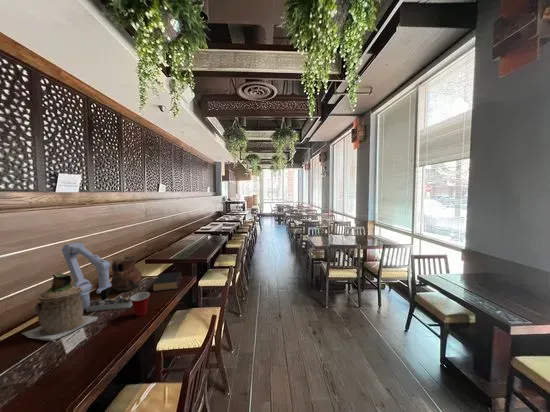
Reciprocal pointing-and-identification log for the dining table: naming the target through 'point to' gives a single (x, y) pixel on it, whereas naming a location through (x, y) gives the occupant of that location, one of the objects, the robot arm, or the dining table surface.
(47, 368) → the dining table surface
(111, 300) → the rocker
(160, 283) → the book
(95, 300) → the rocker
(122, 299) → the rocker
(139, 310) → the plastic cup
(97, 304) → the power strip
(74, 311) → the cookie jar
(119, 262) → the jug
